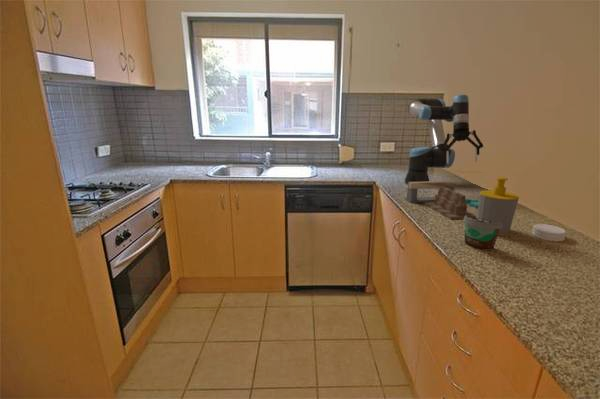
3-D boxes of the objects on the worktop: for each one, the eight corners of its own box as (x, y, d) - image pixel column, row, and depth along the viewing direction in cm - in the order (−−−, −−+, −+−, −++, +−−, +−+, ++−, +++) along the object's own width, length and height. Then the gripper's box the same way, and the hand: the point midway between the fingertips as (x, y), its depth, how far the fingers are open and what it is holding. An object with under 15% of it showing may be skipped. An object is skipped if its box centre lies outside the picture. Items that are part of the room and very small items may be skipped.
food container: (454, 243, 112) (458, 217, 109) (460, 238, 116) (464, 213, 113) (493, 254, 103) (498, 226, 100) (498, 248, 107) (503, 221, 105)
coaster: (532, 229, 125) (534, 221, 124) (564, 236, 119) (566, 227, 118) (530, 237, 117) (532, 228, 116) (564, 244, 111) (566, 235, 110)
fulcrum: (425, 204, 157) (427, 185, 154) (447, 203, 158) (450, 184, 156) (450, 219, 136) (453, 197, 133) (475, 218, 137) (479, 196, 135)
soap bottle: (510, 227, 127) (521, 176, 121) (512, 238, 116) (524, 183, 110) (474, 221, 133) (482, 173, 127) (473, 231, 123) (482, 179, 117)
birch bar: (407, 187, 162) (408, 181, 162) (450, 186, 165) (451, 180, 164) (410, 188, 160) (410, 183, 159) (453, 187, 162) (454, 182, 161)
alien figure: (455, 201, 164) (487, 213, 145) (456, 197, 163) (487, 209, 144) (486, 198, 169) (520, 210, 150) (487, 195, 168) (521, 205, 150)
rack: (405, 199, 166) (406, 186, 164) (447, 198, 169) (448, 185, 167) (410, 202, 160) (411, 189, 158) (453, 201, 163) (455, 188, 161)
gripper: (435, 125, 171) (435, 162, 170) (487, 117, 158) (488, 158, 156) (437, 128, 178) (437, 165, 176) (488, 122, 164) (488, 161, 163)
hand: (461, 162), depth 166 cm, fingers open, 13 cm apart
